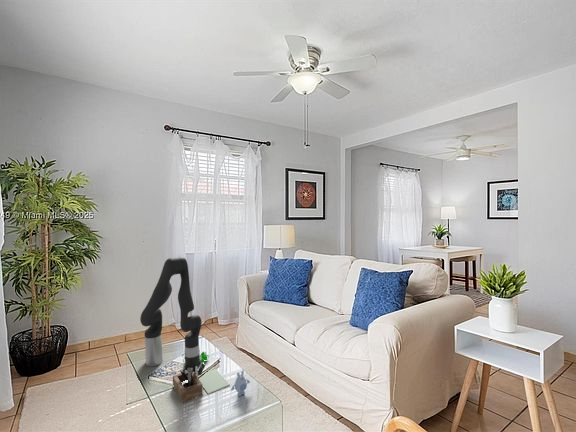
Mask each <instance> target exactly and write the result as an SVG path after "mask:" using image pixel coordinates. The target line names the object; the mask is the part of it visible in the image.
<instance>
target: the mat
mask: <svg viewBox="0 0 576 432" xmlns="http://www.w3.org/2000/svg"><path fill="white" fill-rule="evenodd" d="M204 373H205V374H204ZM204 373H203V374H204V375H203V376H202V377H201V378H200V379H199V380H200V382H201V383H202V389H204V391H205V392H206V394H207V395H209V394H212V393H215V392H217V391H219V390H220V391H221V389H224V388H227V387H229V386H230V383H229V382H228V381H227V380H226V379H225V377H224V376H222V374H221V373H220V372H219V371H218V370H217V369H216V368H215V369H212V370H210V371H207V372H204Z"/></svg>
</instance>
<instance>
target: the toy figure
mask: <svg viewBox="0 0 576 432" xmlns="http://www.w3.org/2000/svg"><path fill="white" fill-rule="evenodd" d="M240 373H241V374H240ZM244 374H245V371H244V370H242V371H241V372H237V374H236V376H237V377H236V379H235V382H234V385H233V386H231V391H234V390H236V392H237V394H236V395H237V396H238V397H240V396H242V395H245V393H246V389H247V387H248V384H250V383H251V380H249V379H247V378H245V376H244Z"/></svg>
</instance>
